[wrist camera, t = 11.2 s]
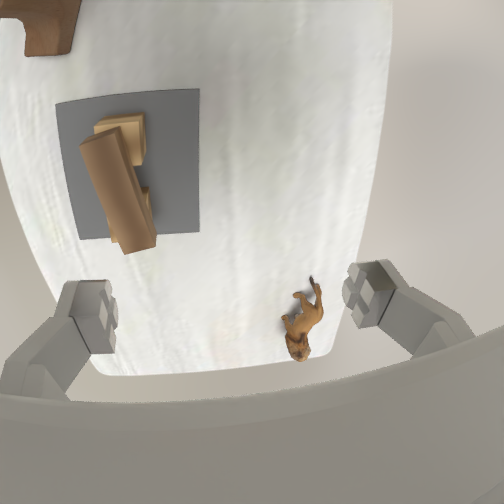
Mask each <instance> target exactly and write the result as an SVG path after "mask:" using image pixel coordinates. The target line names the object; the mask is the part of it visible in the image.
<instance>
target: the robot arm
mask: <svg viewBox="0 0 504 504" xmlns="http://www.w3.org/2000/svg"><path fill="white" fill-rule="evenodd" d="M347 272H348V274H349V277H348V278H347V279H346V280H345V281H344V283H343V287H342V296H343V300H344V303H345V305H346V306H347V307H348V308H350V309H352V314H351V316H352V318H353V320H354V322H355V323H356V325H357V327H358V328H359V329H360V328H366V327H373V326H378V327H379V328H380V329H381V330H383V331H384V332H385V333H387V334H388V335H389V336H390V337H391V338H392V339H394V340H395V341H396V342H397V343H398V344H400V345H401V346H402V347H403V348H405V349H406V350H407V351H408V352H410V353H411V354H412V355H413V356H412V358H411V359H410V360H408V361H405V362H401V363H398V364H394V365H391V366H387V367H384V368H380V369H376V370H372V371H369V372H365V373H361V374H357V375H352V376H348V377H344V378H340V379H335V380H330V381H326V382H321V383H316V384H311V385H306V386H300V387H295V388H289V389H283V390H277V391H271V392H264V393H256V394H249V395H241V396H232V397H223V398H213V399H201V400H188V401H170V402H142V403H141V402H139V403H138V402H135V403H115V402H114V403H113V402H82V401H70V399H69V398H68V397H67V396H66V395H65V392H66V391H67V389H68V388H69V386H70V385H71V383H72V382H73V380H74V379H75V377H76V376H77V375H78V373H79V372H80V370H81V369H82V368H83V366H84V365H85V363H86V362H87V360H88V359H89V358H90V356H91V355H90V354H112V353H115V344H116V335H115V332H114V330H115V329H116V328H117V326H118V308H117V303H116V300H115V298H114V297H112V296H111V293H112V286H111V283H110V281H109V280H80V281H67V282H65V284H64V286H63V289H62V292H61V295H60V298H59V301H58V304H57V307H56V311H55V314H54V317H49V318H48V319H47V320H46V321H45V322H44V323H43V324H42V325H41V326H40V327H39V328H38V329H37V330H36V331H35V332H34V333H33V334H32V335H31V336H30V337H29V338H28V339H27V340H25V341H24V342H23V344H21V345H20V346H19V348H17V349H16V351H14V353H12V355H11V356H10V357H9V358H8V359H7V360H6V361H5V364H4V368H3V371H2V375H1V378H0V504H504V325H503V326H501V327H498V328H496V329H494V330H491V331H489V332H487V333H484V334H482V335H479V336H477V337H476V336H475V335H474V333H473V332H472V330H471V329H470V327H469V326H468V325H467V323H466V322H465V321H464V319H463V318H462V316H461V315H460V314H458V313H457V312H455V311H453V310H452V309H450V308H448V307H446V306H445V305H443V304H442V303H440V302H438V301H437V300H435V299H433V298H431V297H430V296H428V295H426V294H425V293H422V292H421V291H419V290H418V289H416V288H414V287H409V286H408V284H407V283H406V281H405V280H404V279H403V277H402V276H401V275H400V273H399V272H398V271H397V269H396V268H395V267H394V265H393V264H392V263H391V262H390V261H389V260H388V259H383V260H375V261H366V262H355V263H351V264H350V266H349V268H348V271H347Z"/></svg>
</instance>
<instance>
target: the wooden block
mask: <svg viewBox="0 0 504 504" xmlns="http://www.w3.org/2000/svg"><path fill="white" fill-rule="evenodd" d="M80 3H81V0H0V18H17V19H19V20H20V21H22V22H23V25H24V29H25V32H26V40H25V53H24V54H25V56H26V57H34V56H56V55H63V54H68V53H69V52H70V48H71V43H72V38H73V33H74V28H75V24H76V20H77V15H78V11H79V7H80Z"/></svg>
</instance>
